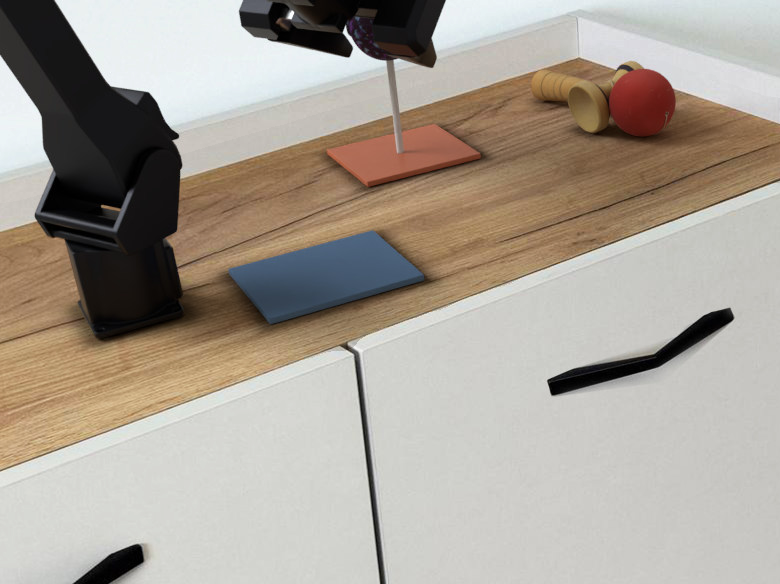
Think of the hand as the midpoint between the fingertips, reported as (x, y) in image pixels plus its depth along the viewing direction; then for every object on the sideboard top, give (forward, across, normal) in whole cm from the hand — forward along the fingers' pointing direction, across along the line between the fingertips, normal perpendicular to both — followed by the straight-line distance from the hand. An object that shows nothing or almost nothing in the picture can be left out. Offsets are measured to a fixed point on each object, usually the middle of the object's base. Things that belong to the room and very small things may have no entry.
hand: (391, 57), depth 116 cm
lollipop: (+6, 0, +6) cm, 9 cm away
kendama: (+17, -12, -4) cm, 21 cm away
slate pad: (-10, -10, +23) cm, 27 cm away
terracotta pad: (+6, 0, +6) cm, 9 cm away
